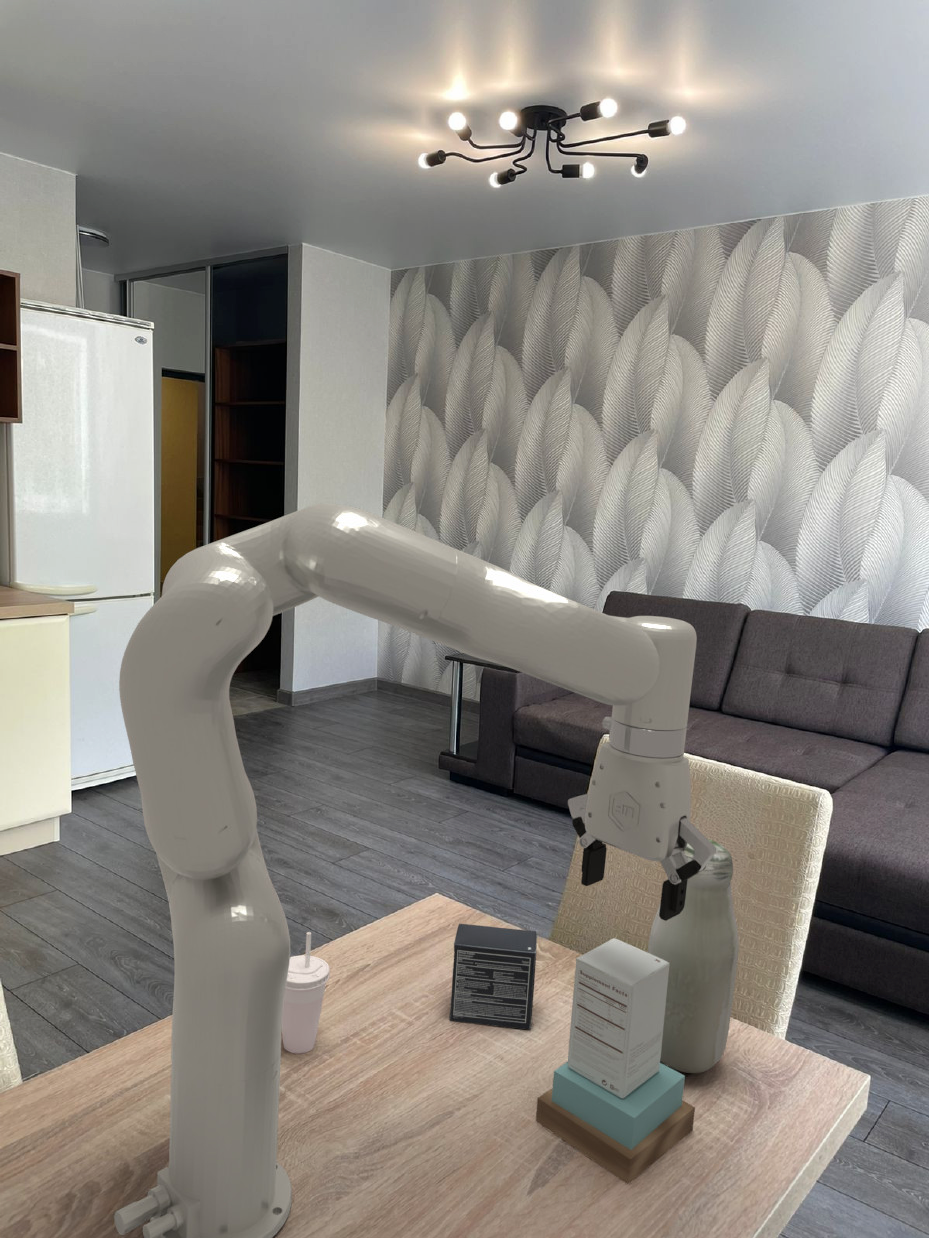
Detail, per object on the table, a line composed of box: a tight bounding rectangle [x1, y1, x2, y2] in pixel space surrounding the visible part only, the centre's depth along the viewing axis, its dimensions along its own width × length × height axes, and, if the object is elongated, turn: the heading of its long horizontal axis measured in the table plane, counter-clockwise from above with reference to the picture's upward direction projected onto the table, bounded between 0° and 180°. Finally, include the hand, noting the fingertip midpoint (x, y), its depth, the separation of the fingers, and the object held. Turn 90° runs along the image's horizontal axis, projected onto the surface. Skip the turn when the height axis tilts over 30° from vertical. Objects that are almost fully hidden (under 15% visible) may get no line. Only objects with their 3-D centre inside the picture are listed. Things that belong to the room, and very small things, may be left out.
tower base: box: [535, 1087, 696, 1185], centre depth 100 cm, size 12×12×4 cm
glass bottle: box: [647, 838, 740, 1074], centre depth 110 cm, size 10×10×28 cm
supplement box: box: [567, 937, 669, 1099], centre depth 99 cm, size 7×7×13 cm
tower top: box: [551, 1061, 686, 1150], centre depth 99 cm, size 10×10×4 cm
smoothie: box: [281, 931, 331, 1054], centre depth 109 cm, size 6×6×14 cm
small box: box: [448, 923, 538, 1030], centre depth 119 cm, size 11×6×10 cm, turn 84°
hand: (629, 898), depth 96 cm, fingers open, 9 cm apart
